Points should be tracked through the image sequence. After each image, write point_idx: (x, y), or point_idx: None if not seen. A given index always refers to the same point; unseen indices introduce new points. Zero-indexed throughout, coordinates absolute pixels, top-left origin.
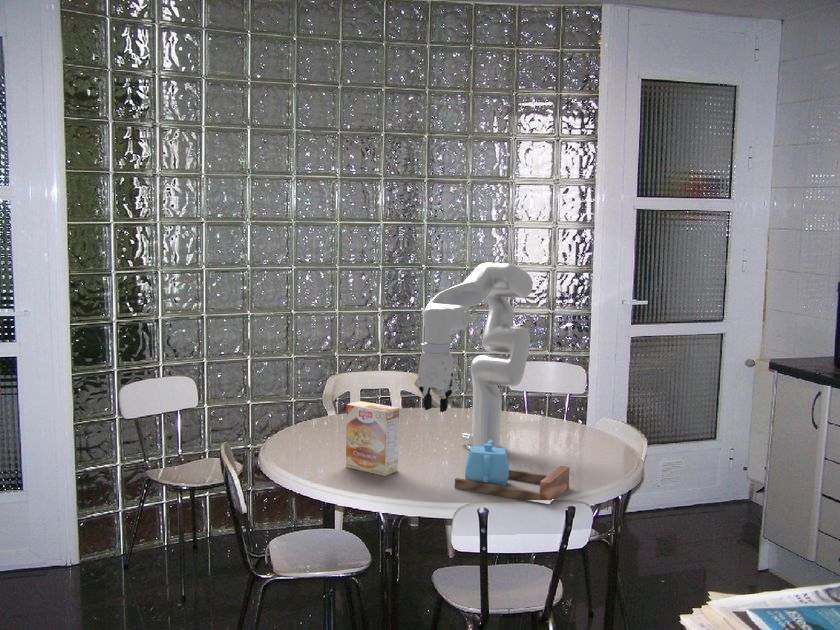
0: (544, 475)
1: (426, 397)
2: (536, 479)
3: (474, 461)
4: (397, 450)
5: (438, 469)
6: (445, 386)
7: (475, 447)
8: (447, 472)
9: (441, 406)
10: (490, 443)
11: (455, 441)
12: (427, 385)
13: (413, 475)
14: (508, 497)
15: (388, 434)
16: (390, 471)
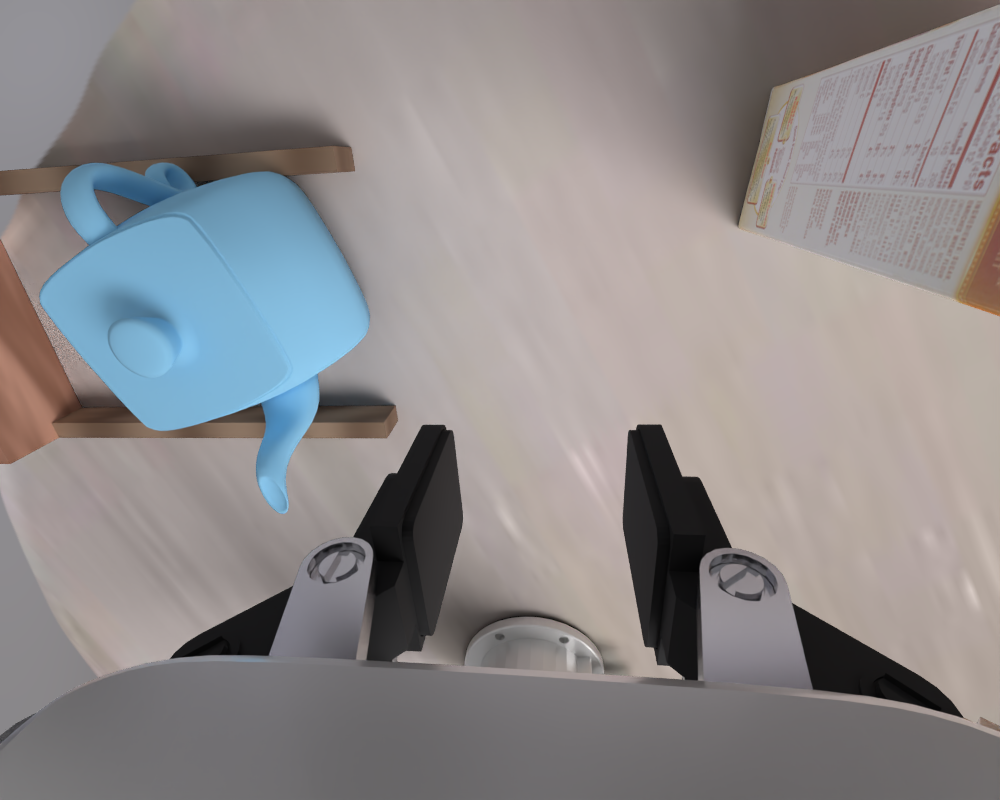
0: (111, 430)
1: (672, 528)
2: None
3: (185, 196)
4: (788, 229)
5: (563, 364)
6: (47, 715)
7: (257, 351)
8: (507, 346)
9: (411, 455)
10: (257, 469)
11: None
12: (676, 716)
13: (626, 206)
14: None
15: (928, 75)
16: (761, 148)
